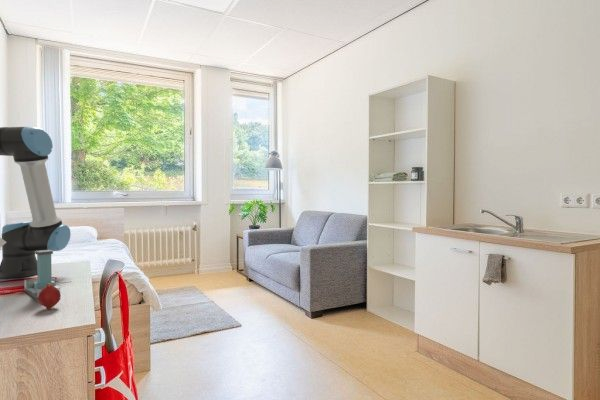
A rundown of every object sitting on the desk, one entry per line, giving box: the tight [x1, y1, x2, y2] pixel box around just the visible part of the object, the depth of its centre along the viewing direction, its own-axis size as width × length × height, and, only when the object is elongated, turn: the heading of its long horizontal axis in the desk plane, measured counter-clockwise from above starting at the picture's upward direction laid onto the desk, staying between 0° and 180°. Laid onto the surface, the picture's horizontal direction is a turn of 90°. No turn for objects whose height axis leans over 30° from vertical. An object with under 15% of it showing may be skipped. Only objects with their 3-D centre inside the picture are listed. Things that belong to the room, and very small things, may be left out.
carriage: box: [34, 250, 56, 291], centre depth 129 cm, size 4×5×13 cm
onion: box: [37, 283, 62, 310], centre depth 116 cm, size 6×6×8 cm
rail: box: [23, 277, 61, 303], centre depth 132 cm, size 22×6×4 cm, turn 47°
